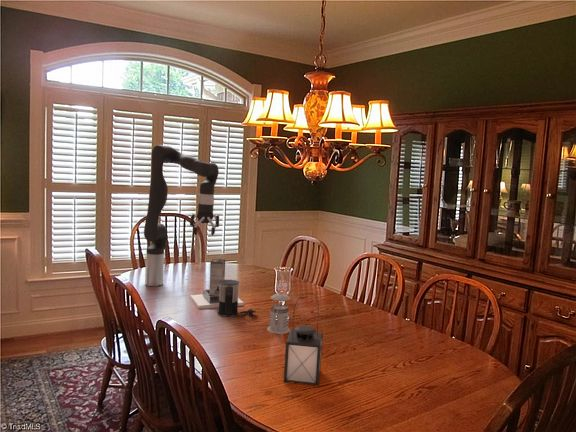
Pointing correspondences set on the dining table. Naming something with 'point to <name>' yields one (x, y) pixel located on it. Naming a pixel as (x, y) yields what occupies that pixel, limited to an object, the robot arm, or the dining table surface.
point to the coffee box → (216, 275)
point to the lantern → (303, 354)
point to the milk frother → (229, 298)
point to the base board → (203, 303)
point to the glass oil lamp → (279, 314)
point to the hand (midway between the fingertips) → (203, 235)
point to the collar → (208, 297)
